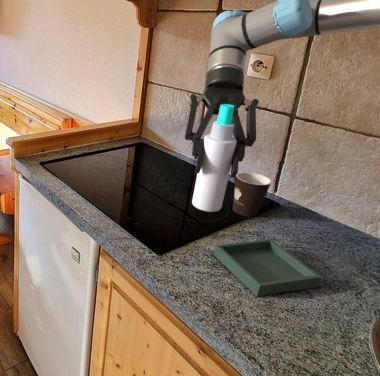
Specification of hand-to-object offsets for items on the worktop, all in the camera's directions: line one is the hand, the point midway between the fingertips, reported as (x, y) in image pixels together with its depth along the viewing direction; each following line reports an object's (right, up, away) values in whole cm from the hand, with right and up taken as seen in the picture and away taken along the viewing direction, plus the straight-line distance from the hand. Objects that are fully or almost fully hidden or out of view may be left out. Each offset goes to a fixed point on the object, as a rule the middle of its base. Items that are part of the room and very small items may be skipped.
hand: (215, 172), depth 81 cm
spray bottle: (+1, -7, +7) cm, 10 cm away
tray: (+13, -21, +7) cm, 26 cm away
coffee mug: (+22, -9, +34) cm, 41 cm away
